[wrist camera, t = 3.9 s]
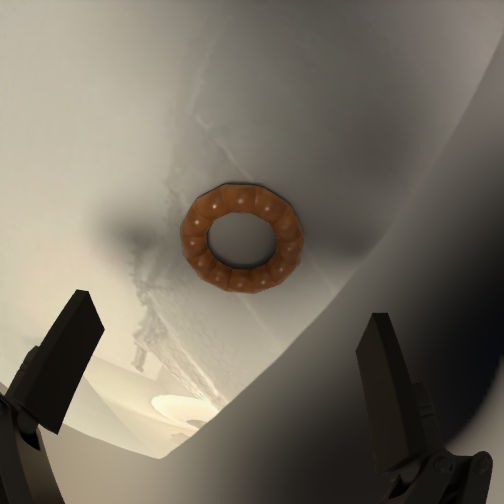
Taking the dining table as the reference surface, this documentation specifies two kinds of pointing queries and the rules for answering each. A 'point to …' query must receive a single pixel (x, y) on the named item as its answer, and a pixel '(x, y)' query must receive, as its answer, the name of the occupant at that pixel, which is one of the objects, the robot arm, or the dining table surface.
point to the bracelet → (242, 202)
